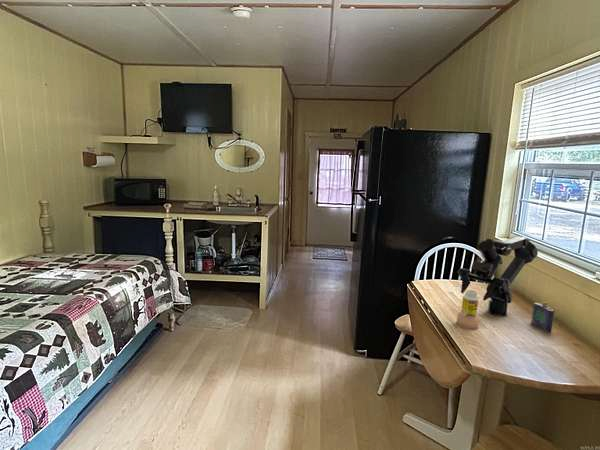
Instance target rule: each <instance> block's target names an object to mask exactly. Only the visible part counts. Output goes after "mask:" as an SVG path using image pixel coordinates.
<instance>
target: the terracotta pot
mask: <svg viewBox="0 0 600 450" xmlns="http://www.w3.org/2000/svg"><path fill="white" fill-rule="evenodd" d="M456 315H457V317H456V325H457V327H459V328H461V329H466V330H468V331H469V330H470V331H474V330H478V329H479V323H480V316H479V315H477V314H476V317H475V318H467V317H465V316H463V315H462V314H461V311H459V312H458V313H457V314H456Z"/></svg>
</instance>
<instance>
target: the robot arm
mask: <svg viewBox="0 0 600 450" xmlns="http://www.w3.org/2000/svg"><path fill="white" fill-rule="evenodd" d="M477 248H478V251H479V252H480V254H481V257H482V258H483V259H484V260H483V262H479V261H475V260H474V261H473V262H472V265H471V270H474V271H473V273H475V274H473V273H472V272H471V270H469V269H468V268H463V267H461V268H459V269H458V271H457V275H459V277H460V279H461V291H460V293H461V294H464V293H466V291H467V288H469V286H470V284H471V281H472V280H474V281H479V282H482V283H485V284H488V285H487V286H486V292H485V294H484V296H483V299H482V300H483V301H484V302H485V301H486V300H488V299H490V300H488V304H487V305H488V306H487V310H488V312H489V313H490V314H491V315H495V316H503V317H508V314H507V311H508V310H507V309H508V304H511V303H512V302H513V297H514V296H513V294H512V292H511V291H512V290H511V284H512V283H513V282H514V280H515V278H517V276H518V275H519V274H520V272H521V270H522V269H523V267H525V265H527V264H529V263H532V262H533V260H535V259H536V258H537V257H538V249H537V246H536V245H535V244H534V243H532V242H531V241H530V239H529V238H527V237H523V236H515V237H512V238H509V239H506V240H498V239H494V240H493V238H487V239H486V240H483V241H480V242H479V243H478V245H477ZM512 251H513V252H514V257H513V259H512V261H510V263H509V265H508V266H506V269H504V271H503V273H502V274H501V276H499V277H498V276H497V277H496V275H497V269H498V268H499V266H500V265H503V259H502V256H504V257H507V256H508V255H511V254H512Z"/></svg>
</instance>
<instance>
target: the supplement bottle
mask: <svg viewBox="0 0 600 450" xmlns="http://www.w3.org/2000/svg"><path fill="white" fill-rule="evenodd" d="M461 302H462V303H461V311H460V312H461V314H462V315H463V316H465V317H467V318H475V317H476V315H477V313H478V305H479V304H478V303H479V297H478V293H477V291H476V290H471V289H468V290H467V289H466V290H465V294H463V296H462V301H461Z"/></svg>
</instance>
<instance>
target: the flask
mask: <svg viewBox="0 0 600 450" xmlns="http://www.w3.org/2000/svg"><path fill="white" fill-rule="evenodd" d="M532 309H533V310H532V315H531V321H530V322H531V323H530V324H532V325H534V326H535V327H537V328H540V330H542V331H544V332H545V333H546V332H547V333H552V330H553V329H552V328H553V323H554V321H553V320H554V315H555V310H554V309H552V308H551V307H549V305H548V302H546V301H542V302H541V303H539V302H534V303H533V308H532Z"/></svg>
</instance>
